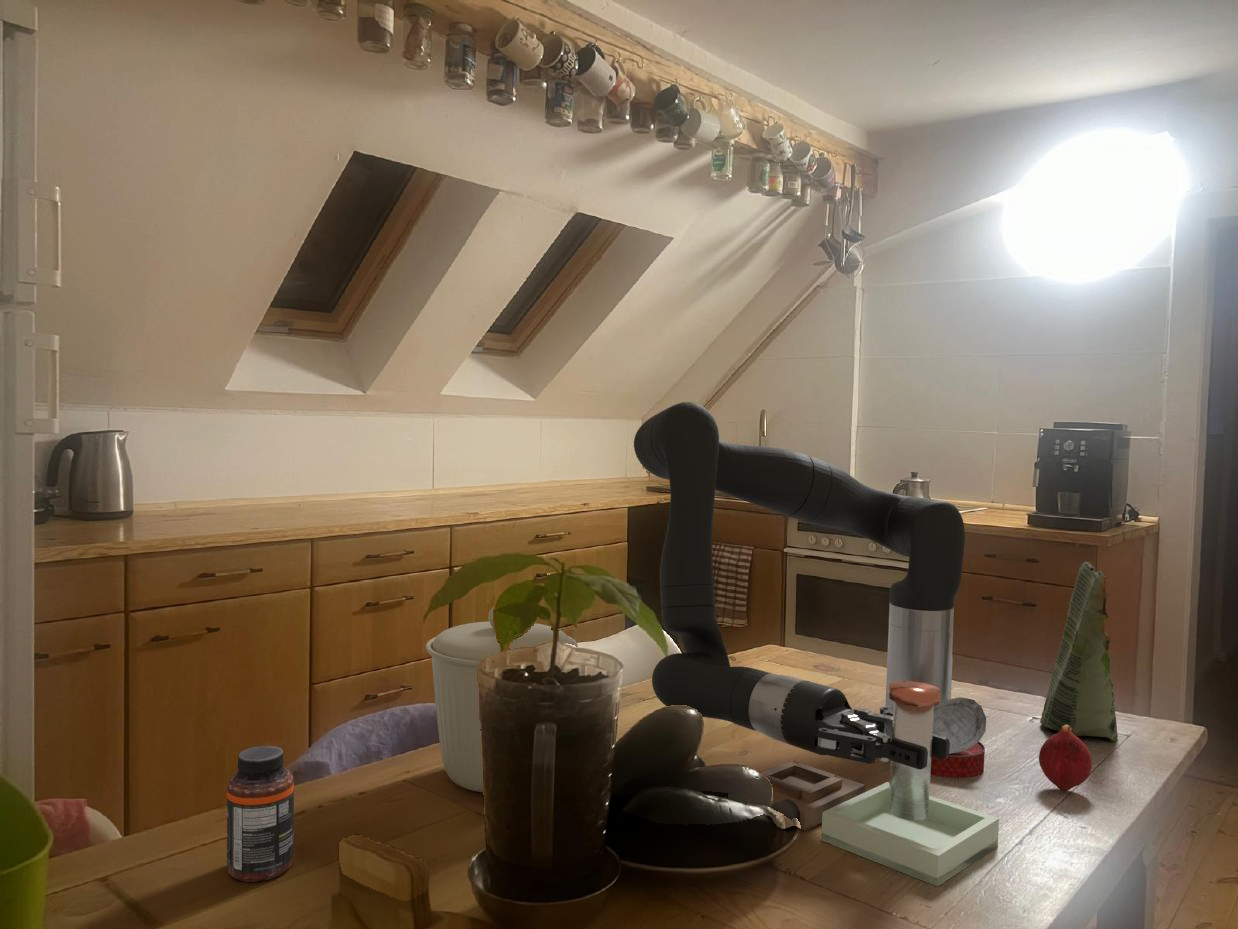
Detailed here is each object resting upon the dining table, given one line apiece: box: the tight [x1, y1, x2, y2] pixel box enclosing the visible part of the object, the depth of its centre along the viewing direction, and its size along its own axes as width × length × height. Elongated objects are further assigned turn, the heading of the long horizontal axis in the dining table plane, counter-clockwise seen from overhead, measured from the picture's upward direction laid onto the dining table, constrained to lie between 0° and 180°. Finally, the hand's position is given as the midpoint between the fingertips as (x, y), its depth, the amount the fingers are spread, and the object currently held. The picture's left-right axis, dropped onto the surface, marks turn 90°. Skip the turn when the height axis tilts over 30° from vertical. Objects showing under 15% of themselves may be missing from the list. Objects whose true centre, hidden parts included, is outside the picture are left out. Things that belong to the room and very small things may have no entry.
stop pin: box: [888, 681, 941, 821], centre depth 97 cm, size 5×5×13 cm
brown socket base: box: [760, 760, 866, 832], centre depth 107 cm, size 14×10×3 cm
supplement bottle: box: [226, 745, 295, 882], centre depth 88 cm, size 6×6×11 cm
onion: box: [1038, 725, 1093, 792], centre depth 113 cm, size 6×6×8 cm
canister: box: [425, 606, 578, 793], centre depth 113 cm, size 18×18×21 cm
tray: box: [821, 781, 1000, 887], centre depth 98 cm, size 13×13×3 cm
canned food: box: [930, 697, 987, 779], centre depth 122 cm, size 11×10×10 cm
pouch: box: [1039, 561, 1119, 742], centre depth 135 cm, size 11×12×25 cm
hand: (936, 754), depth 95 cm, fingers closed on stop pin, 4 cm apart
